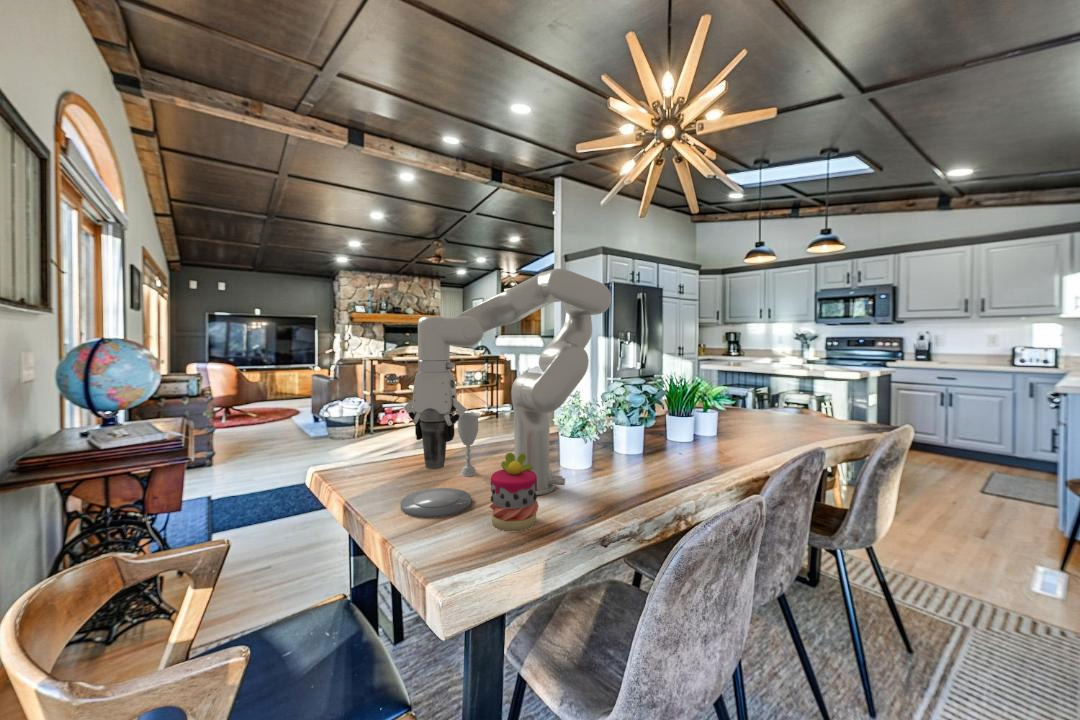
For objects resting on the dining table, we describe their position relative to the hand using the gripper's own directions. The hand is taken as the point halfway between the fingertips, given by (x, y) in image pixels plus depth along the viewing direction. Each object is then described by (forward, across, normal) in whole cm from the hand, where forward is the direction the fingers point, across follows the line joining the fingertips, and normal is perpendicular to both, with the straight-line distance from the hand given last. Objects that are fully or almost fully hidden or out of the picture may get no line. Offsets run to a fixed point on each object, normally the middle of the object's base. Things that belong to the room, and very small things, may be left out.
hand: (434, 439), depth 114 cm
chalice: (+16, +2, -25) cm, 30 cm away
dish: (+16, 0, 0) cm, 16 cm away
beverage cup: (+7, 0, 0) cm, 7 cm away
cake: (+16, -22, +6) cm, 28 cm away
